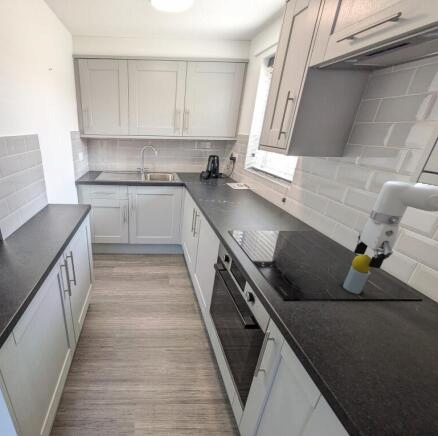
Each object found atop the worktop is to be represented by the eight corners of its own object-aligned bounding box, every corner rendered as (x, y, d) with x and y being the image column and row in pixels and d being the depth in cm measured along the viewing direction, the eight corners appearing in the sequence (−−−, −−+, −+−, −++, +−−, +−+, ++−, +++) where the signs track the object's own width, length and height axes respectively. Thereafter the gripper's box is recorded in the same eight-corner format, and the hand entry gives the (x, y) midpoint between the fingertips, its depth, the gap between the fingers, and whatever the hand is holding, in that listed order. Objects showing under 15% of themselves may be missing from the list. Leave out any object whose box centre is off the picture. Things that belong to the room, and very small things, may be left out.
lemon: (366, 279, 84) (375, 260, 81) (347, 271, 88) (355, 254, 85) (369, 273, 88) (377, 255, 85) (350, 266, 92) (358, 249, 89)
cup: (356, 286, 93) (365, 267, 89) (364, 295, 88) (373, 275, 84) (340, 283, 94) (348, 264, 91) (346, 291, 89) (355, 272, 86)
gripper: (418, 229, 70) (394, 275, 77) (382, 210, 86) (364, 250, 92) (388, 225, 72) (367, 271, 79) (358, 208, 88) (342, 247, 94)
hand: (365, 260), depth 86 cm, fingers open, 9 cm apart
